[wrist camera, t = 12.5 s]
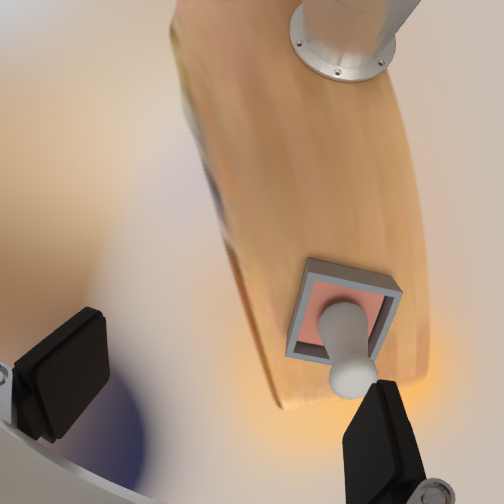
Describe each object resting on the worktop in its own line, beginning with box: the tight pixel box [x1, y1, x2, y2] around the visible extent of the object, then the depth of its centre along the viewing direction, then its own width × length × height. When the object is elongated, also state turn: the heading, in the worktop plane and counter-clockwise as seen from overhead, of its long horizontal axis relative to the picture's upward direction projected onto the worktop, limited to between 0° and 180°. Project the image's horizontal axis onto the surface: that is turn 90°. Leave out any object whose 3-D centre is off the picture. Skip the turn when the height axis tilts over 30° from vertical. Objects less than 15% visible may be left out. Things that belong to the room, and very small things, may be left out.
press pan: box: [297, 280, 385, 346], centre depth 36 cm, size 9×9×1 cm
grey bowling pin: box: [318, 301, 378, 399], centre depth 30 cm, size 6×6×13 cm
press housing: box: [285, 258, 403, 365], centre depth 36 cm, size 11×11×5 cm
